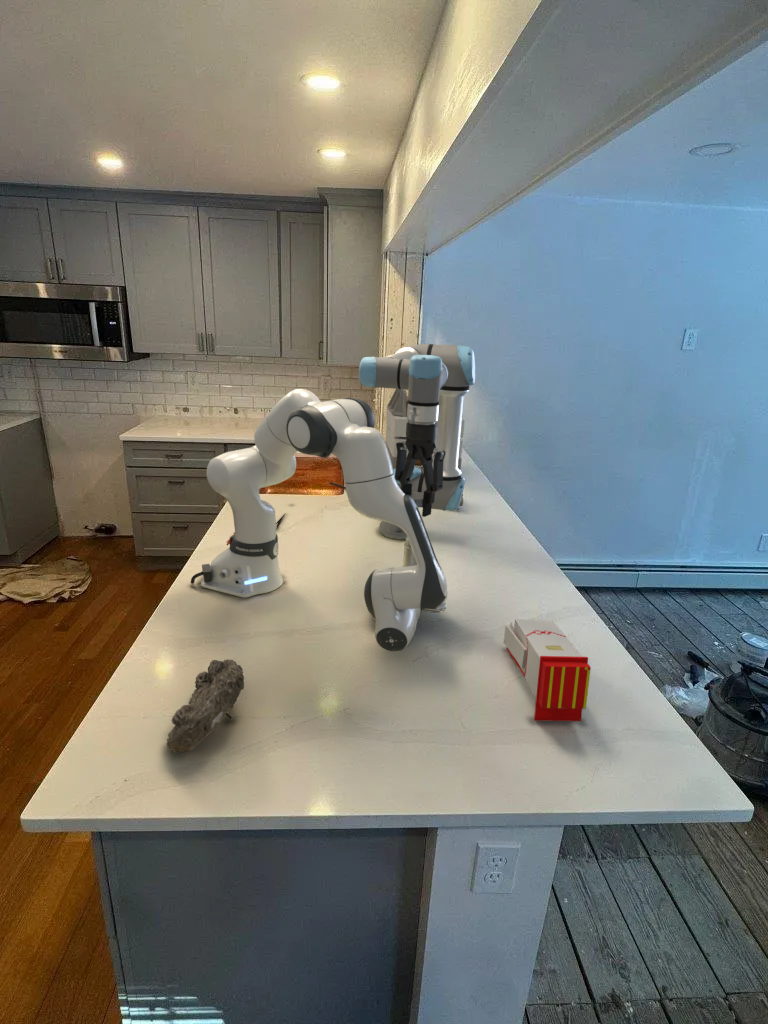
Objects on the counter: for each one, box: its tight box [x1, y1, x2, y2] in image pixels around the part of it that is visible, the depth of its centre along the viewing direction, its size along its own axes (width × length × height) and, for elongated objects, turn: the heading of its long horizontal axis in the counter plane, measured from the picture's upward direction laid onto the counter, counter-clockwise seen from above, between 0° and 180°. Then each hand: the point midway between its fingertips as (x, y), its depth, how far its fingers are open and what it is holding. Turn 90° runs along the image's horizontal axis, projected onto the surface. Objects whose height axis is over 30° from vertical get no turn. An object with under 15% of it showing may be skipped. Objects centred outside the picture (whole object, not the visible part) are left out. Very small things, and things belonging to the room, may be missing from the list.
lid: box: [406, 492, 424, 508], centre depth 143 cm, size 6×6×2 cm
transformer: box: [384, 389, 465, 472], centre depth 268 cm, size 34×33×41 cm
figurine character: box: [456, 493, 464, 511], centre depth 230 cm, size 7×8×15 cm
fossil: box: [166, 658, 245, 754], centre depth 106 cm, size 22×10×15 cm
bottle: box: [402, 537, 417, 567], centre depth 150 cm, size 5×5×19 cm
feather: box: [276, 513, 286, 531], centre depth 210 cm, size 2×28×2 cm
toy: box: [503, 618, 592, 722], centre depth 122 cm, size 12×13×30 cm
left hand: (411, 581), depth 152 cm, fingers closed on bottle, 5 cm apart
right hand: (416, 511), depth 144 cm, fingers closed on lid, 6 cm apart
